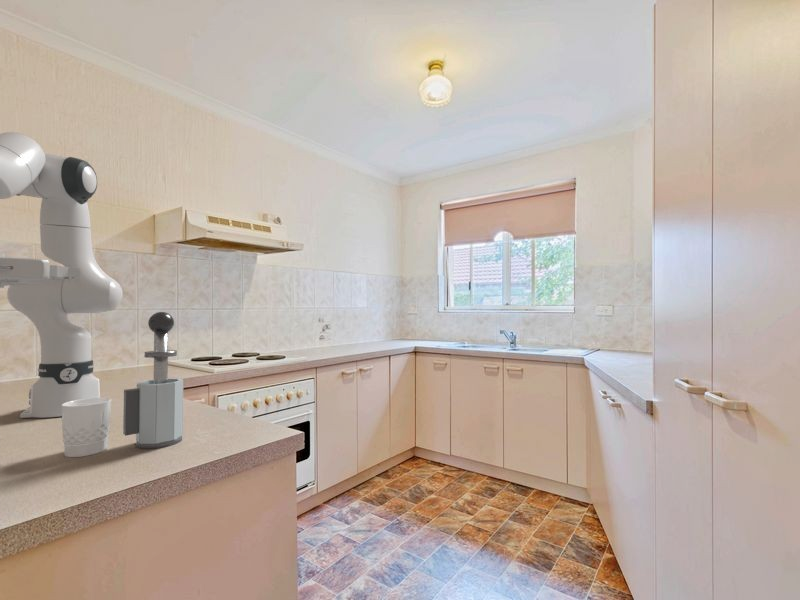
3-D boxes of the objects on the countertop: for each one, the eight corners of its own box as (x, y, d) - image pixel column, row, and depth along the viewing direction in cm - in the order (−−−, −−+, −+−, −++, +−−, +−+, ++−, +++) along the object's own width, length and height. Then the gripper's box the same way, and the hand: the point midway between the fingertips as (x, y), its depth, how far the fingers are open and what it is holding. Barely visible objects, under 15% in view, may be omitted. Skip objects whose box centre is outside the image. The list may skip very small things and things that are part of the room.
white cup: (119, 444, 83) (120, 397, 83) (91, 458, 75) (92, 406, 75) (81, 445, 83) (82, 397, 83) (49, 459, 75) (50, 406, 75)
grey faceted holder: (120, 444, 83) (121, 383, 83) (175, 433, 90) (176, 377, 91) (128, 454, 77) (129, 388, 77) (187, 442, 84) (187, 381, 85)
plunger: (140, 431, 84) (142, 312, 85) (171, 425, 89) (173, 311, 90) (147, 437, 80) (148, 311, 81) (179, 431, 84) (180, 311, 85)
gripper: (-27, 246, 63) (83, 253, 72) (-19, 256, 77) (72, 262, 87) (-28, 285, 63) (83, 288, 72) (-20, 288, 77) (72, 290, 87)
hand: (77, 273), depth 80 cm, fingers open, 8 cm apart
